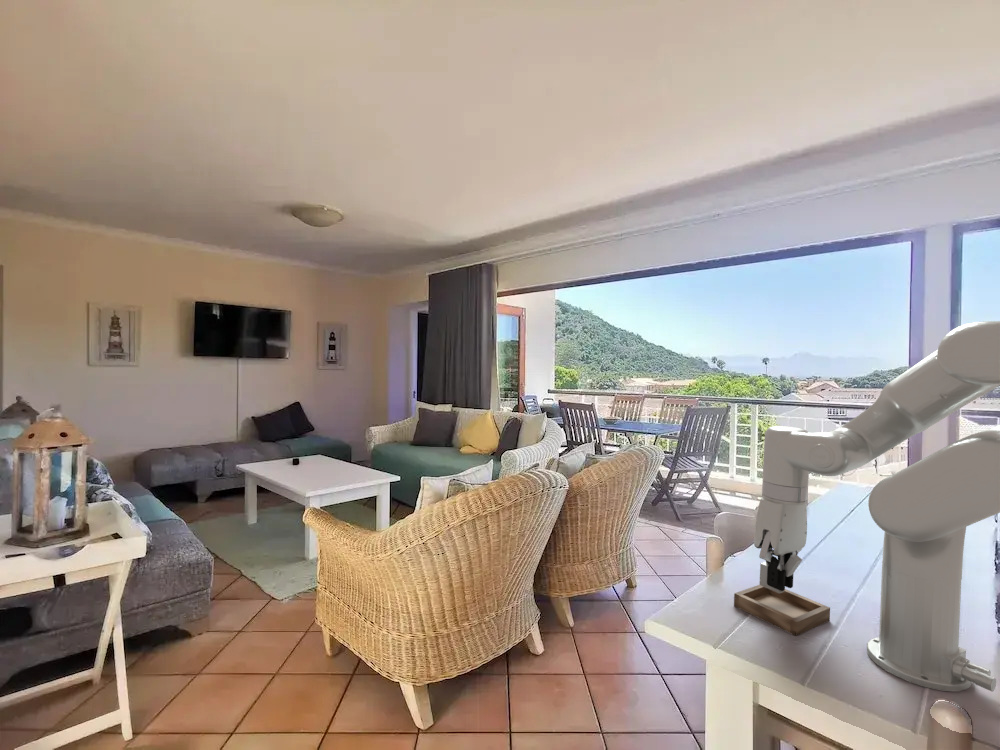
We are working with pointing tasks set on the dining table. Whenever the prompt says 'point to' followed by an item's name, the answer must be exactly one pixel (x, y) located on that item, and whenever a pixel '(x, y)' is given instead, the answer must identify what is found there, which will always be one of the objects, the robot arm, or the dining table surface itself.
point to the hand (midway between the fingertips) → (779, 585)
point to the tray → (782, 609)
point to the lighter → (789, 568)
